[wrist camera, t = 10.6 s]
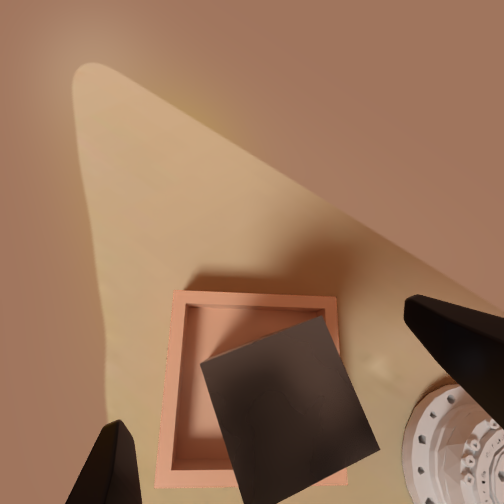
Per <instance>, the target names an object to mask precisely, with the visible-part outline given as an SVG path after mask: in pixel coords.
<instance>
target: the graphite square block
mask: <svg viewBox="0 0 504 504" xmlns="http://www.w3.org/2000/svg"><path fill="white" fill-rule="evenodd" d="M200 367H201V370H202V373H203V376H204V379H205V382H206V386H207V389H208V392H209V395H210V398H211V401H212V405H213V408H214V411H215V414H216V417H217V420H218V423H219V427H220V430H221V433H222V436H223V439H224V442H225V445H226V449H227V452H228V455H229V458H230V461H231V464H232V468H233V471H234V474H235V477H236V480H237V483H238V486H239V490H240V493H241V496H242V499H243V502H244V504H277V503H279V502H280V501H282V500H284V499H286V498H288V497H290V496H292V495H294V494H296V493H298V492H300V491H302V490H304V489H306V488H307V487H309V486H311V485H313V484H315V483H317V482H319V481H321V480H323V479H325V478H327V477H329V476H331V475H332V474H334V473H336V472H338V471H340V470H342V469H344V468H346V467H348V466H350V465H352V464H354V463H356V462H358V461H359V460H361V459H363V458H365V457H367V456H369V455H371V454H373V453H375V452H377V451H379V450H380V448H379V446H378V443H377V441H376V439H375V437H374V434H373V432H372V430H371V427H370V425H369V423H368V420H367V418H366V416H365V413H364V411H363V409H362V406H361V404H360V402H359V400H358V397H357V395H356V393H355V390H354V388H353V386H352V383H351V381H350V379H349V376H348V374H347V372H346V369H345V367H344V365H343V363H342V360H341V358H340V356H339V353H338V351H337V349H336V346H335V344H334V342H333V339H332V337H331V335H330V332H329V330H328V328H327V326H326V323H325V321H324V319H323V316H322V315H321V316H318V317H315V318H313V319H310V320H307V321H304V322H301V323H298V324H296V325H293V326H290V327H287V328H284V329H281V330H279V331H276V332H273V333H270V334H268V335H265V336H263V337H260V338H258V339H255V340H252V341H250V342H247V343H245V344H242V345H240V346H237V347H235V348H232V349H230V350H227V351H225V352H222V353H220V354H217V355H215V356H212V357H210V358H208V359H206V360H205V361H203V362H202V363H200Z"/></svg>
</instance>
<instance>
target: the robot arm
mask: <svg viewBox="0 0 504 504" xmlns="http://www.w3.org/2000/svg"><path fill="white" fill-rule="evenodd" d="M404 321H405V323H406V325H407V326H408V327H409V328H410V330H411V331H412V332H413V333H414V335H415V336H416V337H417V338H418V339H419V341H420V342H421V343H422V344H423V346H424V347H425V348H426V349H427V350H428V352H429V353H430V354H431V355H432V357H433V358H434V359H435V360H436V361H437V362H438V364H439V365H440V366H441V367H442V368H443V369H444V370H445V371H446V372H447V373H448V374H449V375H450V376H451V377H452V378H453V379H454V380H455V381H456V382H457V383H458V384H459V385H460V386H461V387H462V388H463V389H464V390H465V391H466V392H467V393H468V394H469V395H470V396H471V397H472V398H473V399H474V400H475V401H476V402H477V403H478V404H479V405H480V406H481V407H482V408H483V409H484V411H485V412H486V413H487V414H488V415H489V416H490V417H491V418H492V419H493V420H494V421H495V422H496V423H497V424H498V425H499V426H500V427H501V428H502V429H503V430H504V318H502V317H498V316H494V315H491V314H487V313H484V312H480V311H477V310H473V309H469V308H466V307H462V306H459V305H455V304H452V303H448V302H444V301H441V300H437V299H434V298H430V297H426V296H423V295H418V294H417V295H414V296H411V297H409V298H407V299H406V300H405V306H404ZM65 504H142V498H141V490H140V482H139V475H138V467H137V459H136V451H135V444H134V440H133V437H132V435H131V434H130V432H129V431H128V429H127V428H126V426H125V425H124V423H123V422H122V421H121V420H116V421H114V422H111V423H109V424H107V425H105V426H104V427H103V428H102V430H101V432H100V434H99V436H98V438H97V440H96V442H95V444H94V446H93V448H92V450H91V452H90V454H89V456H88V458H87V461H86V462H85V465H84V466H83V468H82V470H81V472H80V475H79V476H78V479H77V481H76V483H75V485H74V487H73V489H72V491H71V493H70V495H69V497H68V499H67V501H66V503H65Z"/></svg>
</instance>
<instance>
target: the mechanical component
mask: <svg viewBox="0 0 504 504" xmlns="http://www.w3.org/2000/svg"><path fill="white" fill-rule="evenodd" d="M402 464H403V469H404V474H405V480H406V485H407V488H408V490H409V493H410V495H411V497H412V500H413V502H414V504H504V430H503V429H502V428H501V427H500V426H499V425H498V424H497V423H496V422H495V421H494V420H493V419H492V418H491V417H490V416H489V415H488V414H487V413H486V412H485V411H484V409H483V408H482V407H481V406H480V405H479V404H478V403H477V402H476V401H475V400H474V399H473V398H472V397H471V396H470V395H469V394H468V393H467V392H466V391H465V390H464V389H463V388H462V387H461V386H460V385H459V384H454V385H445V386H443V387H441V388H439V389H437V390H435V391H433V392H431V393H429V394H428V395H427V396H426V397H425V398H424V399H423V400H422V401H421V402H420V403H419V404H418V405H417V406H416V407H415V408H414V410H413V413H412V415H411V417H410V419H409V422H408V424H407V426H406V429H405V434H404V440H403V445H402Z"/></svg>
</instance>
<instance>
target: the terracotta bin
mask: <svg viewBox="0 0 504 504" xmlns="http://www.w3.org/2000/svg"><path fill="white" fill-rule="evenodd" d="M321 315H322V316H323V319H324V321H325V323H326V326H327V328H328V330H329V332H330V335H331V337H332V339H333V342H334V344H335V346H336V349H337V351H338V353H339V356H340V350H339V334H338V317H337V301H336V297H329V296H305V295H281V294H257V293H233V292H209V291H185V290H174V294H173V304H172V314H171V324H170V334H169V344H168V354H167V364H166V374H165V384H164V394H163V404H162V414H161V424H160V434H159V444H158V454H157V464H156V474H155V484H154V488H204V487H239V486H238V483H237V480H236V477H235V474H234V471H233V468H232V464H231V461H230V458H229V455H228V452H227V449H226V445H225V442H224V439H223V436H222V433H221V430H220V427H219V423H218V420H217V417H216V414H215V411H214V408H213V405H212V401H211V398H210V395H209V392H208V389H207V386H206V382H205V379H204V376H203V373H202V370H201V367H200V363H202V362H203V361H205V360H206V359H208V358H210V357H212V356H215V355H217V354H220V353H222V352H225V351H227V350H230V349H232V348H235V347H237V346H240V345H242V344H245V343H247V342H250V341H252V340H255V339H258V338H260V337H263V336H265V335H268V334H270V333H273V332H276V331H279V330H281V329H284V328H287V327H290V326H293V325H296V324H298V323H301V322H304V321H307V320H310V319H313V318H315V317H318V316H321ZM323 485H348V483H347V467H346V468H344V469H342V470H340V471H338V472H336V473H334V474H332V475H331V476H329V477H327V478H325V479H323V480H321V481H319V482H317V483H315V484H313V485H311V486H323Z"/></svg>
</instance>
